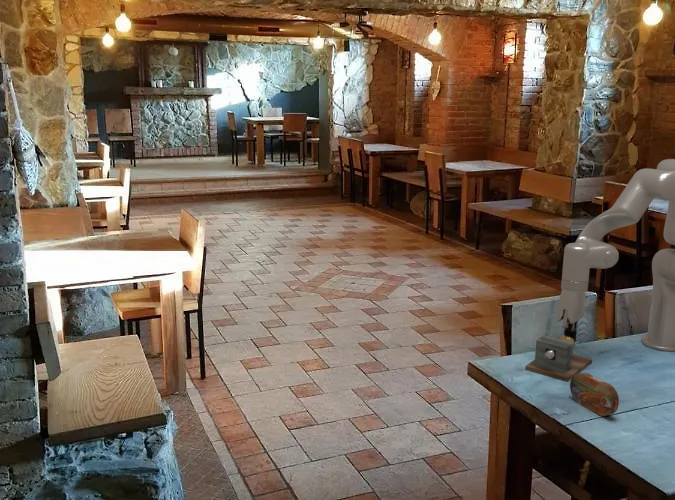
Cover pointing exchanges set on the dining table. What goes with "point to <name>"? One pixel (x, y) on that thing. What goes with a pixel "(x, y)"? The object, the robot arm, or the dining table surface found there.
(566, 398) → the dining table surface
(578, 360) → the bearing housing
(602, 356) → the dining table surface
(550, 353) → the shaft
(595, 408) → the tin
